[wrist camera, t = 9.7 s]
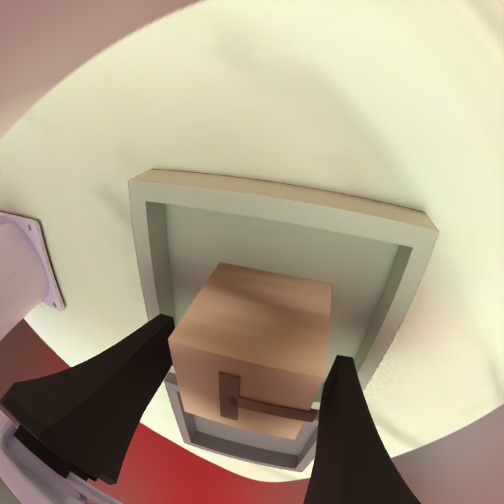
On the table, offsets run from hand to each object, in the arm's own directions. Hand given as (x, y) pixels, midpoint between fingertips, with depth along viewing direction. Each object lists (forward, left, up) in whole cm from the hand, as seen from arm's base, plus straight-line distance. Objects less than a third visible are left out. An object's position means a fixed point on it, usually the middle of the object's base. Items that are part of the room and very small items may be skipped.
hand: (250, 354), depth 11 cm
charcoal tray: (0, -13, -3) cm, 13 cm away
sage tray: (0, 0, -3) cm, 3 cm away
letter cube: (0, -1, -3) cm, 3 cm away
